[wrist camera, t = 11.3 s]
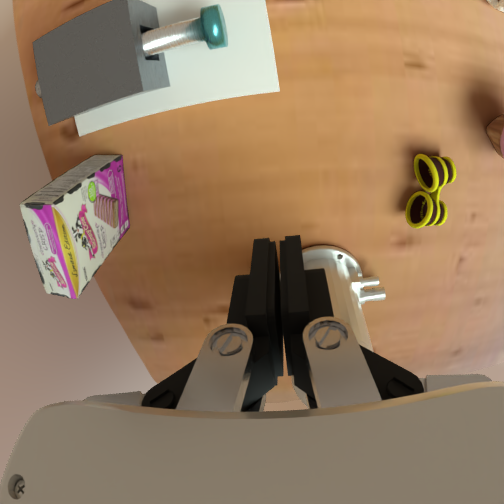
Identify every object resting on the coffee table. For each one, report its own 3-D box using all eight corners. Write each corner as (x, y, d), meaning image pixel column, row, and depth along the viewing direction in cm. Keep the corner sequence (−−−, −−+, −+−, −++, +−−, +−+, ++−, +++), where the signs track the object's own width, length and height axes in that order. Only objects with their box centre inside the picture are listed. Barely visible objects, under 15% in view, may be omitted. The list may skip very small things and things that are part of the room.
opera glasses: (428, 216, 39) (447, 232, 35) (399, 217, 39) (418, 235, 35) (440, 151, 34) (464, 163, 30) (410, 148, 34) (434, 160, 30)
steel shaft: (222, 9, 24) (214, -1, 20) (229, 48, 27) (222, 44, 23) (50, 69, 27) (27, 73, 23) (57, 102, 30) (34, 109, 26)
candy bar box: (132, 227, 43) (78, 302, 29) (103, 225, 43) (45, 295, 29) (125, 152, 37) (51, 204, 23) (93, 153, 37) (15, 204, 23)
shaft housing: (156, 7, 25) (126, -6, 19) (170, 86, 31) (143, 91, 24) (72, 41, 27) (32, 42, 20) (85, 112, 32) (48, 126, 26)
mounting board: (258, -32, 23) (258, -35, 22) (279, 90, 32) (279, 91, 31) (63, 30, 27) (58, 30, 26) (84, 134, 35) (79, 136, 34)
